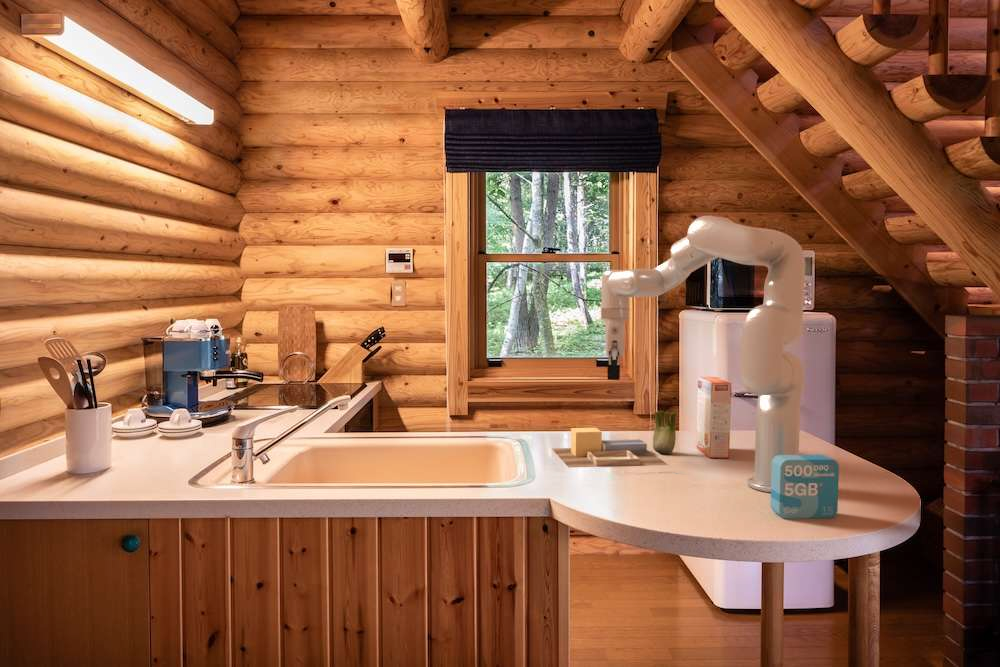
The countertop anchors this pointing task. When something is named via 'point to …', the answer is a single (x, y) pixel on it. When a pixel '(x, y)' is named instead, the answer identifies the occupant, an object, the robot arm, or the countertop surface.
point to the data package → (804, 486)
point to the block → (585, 440)
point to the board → (612, 455)
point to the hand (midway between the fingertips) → (613, 377)
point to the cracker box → (714, 417)
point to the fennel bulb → (664, 432)
